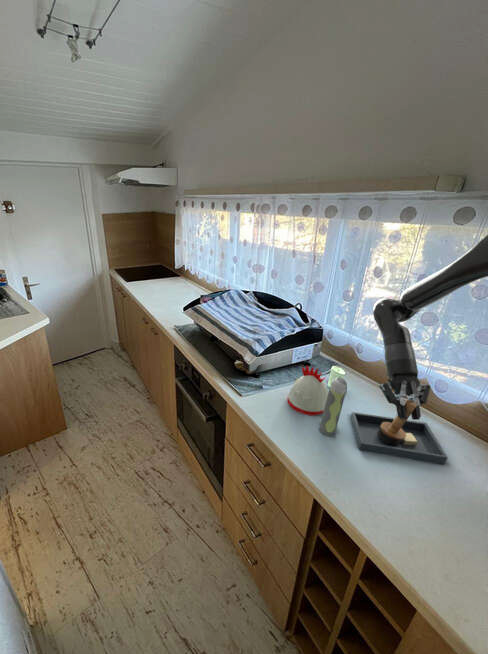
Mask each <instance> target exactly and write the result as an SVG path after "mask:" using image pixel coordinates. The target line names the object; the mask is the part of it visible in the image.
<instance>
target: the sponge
mask: <svg viewBox="0 0 488 654" xmlns="http://www.w3.org/2000/svg"><path fill="white" fill-rule="evenodd" d="M243 366H244V365H243V362H241V361H238V360H237V359H236V361H235V362H234V367H236V369H237V370H239V371H241V372H245V374H248V375H250V374H251V375H252V373H253V372H249V371H248V370H246V369H245V368H244V367H243Z"/></svg>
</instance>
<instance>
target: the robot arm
mask: <svg viewBox="0 0 488 654" xmlns="http://www.w3.org/2000/svg"><path fill="white" fill-rule="evenodd" d="M487 277H488V234H487V235H486V236H484V238H482V239H481V240H479V242H478V243H476V244H475V245H474V246H473V247H471V248H470V249H469V250H468V251H466V252H465V253H464V254H463V255H461V256H460V257H458V258H457V259H456V260H454V261H453V262H452V263H450V264H448V265H447V266H444V267H443V268H442V269H440V270H437V271H436V272H434V273H432V274H430V275H427V277H425V278H423V279H421V280H420V281H418V282H416V283H415V284H413V285H411V286H410V287H408V288H406V289H404V290H403V292H402V293H401V295H400V299H394V298H387V297H385V298H380V299H378V300H377V301H376V302H375V304H374V306H373V310H372V313H373V314H372V315H373V318H374V321H375V323H376V325H377V328H378V330H379V331H380V334H381V336H382V340H383V348H384V349H383V350H384V361H385V367H386V374H387V377H388V380H387V382H385V383H381V384H380V385H379V387H378V388H379V389H380V390H381V392H382V394H383V396H384V398H385V399H386V401H387V402H388V403H389V404H391V405H395V408H396V413H397V415H398V417H399V418H400V419H407V414H406V408H405V405H404V404H405V398H406V399H407V400H411V401H413V402H415V403H416V404H417V406H416V408H415V409H414V410H413V412H412V413H411V415H410V416H411V419H412V421H416V420H420V418H421V417H422V414H421V408H420V406H422V405H425V404H427V401H428V399H429V394H430V390H431V385H430V384H424V383H421V381H420V379H419V377H418V375H419V370H418V369H419V368H418V365H417V360H416V354H415V349H414V347H413V341H412V338H411V332H410V330H409V328H408V327H406V326H404V325H402V324H400V323H404V322H407V321H409V320H410V319H411V318H413V317H414V316H415V315H416V314H418V313H419V312H420V311H421V310H422V309H424V308H426V307H428V306H430V305H432V304H434V303H436V302H438V301H440V300H442V299H444V298H446V297H447V296H449V295H451V294H452V293H454V292H455V291H457V290H459V289H461V288H462V287H465V286H467V285H469V284H471V283H473V282H476V281H479V280H481V279H484V278H487ZM397 415H396V416H397ZM407 420H408V419H407Z"/></svg>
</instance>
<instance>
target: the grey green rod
mask: <svg viewBox="0 0 488 654" xmlns="http://www.w3.org/2000/svg"><path fill="white" fill-rule="evenodd" d="M347 389H348V384H347V381H346V380H345V378H344V379H343V378H340V377H339V378H335V379H333V380H332V383H331V387H329V390H328V396H327V400H326V404H325V407H324V411H323V413H322V415H321V419H320V422H319V425H318V432H319V433H321V434H322V435H323V436H326V437H333V436H335V434H336V432H337V428H338V425H339V420H340V416H341V412H342V408H343V405H344V403H345V397H346V394H347Z"/></svg>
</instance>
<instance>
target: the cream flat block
mask: <svg viewBox="0 0 488 654" xmlns="http://www.w3.org/2000/svg"><path fill="white" fill-rule="evenodd" d="M417 442H418V441H417V440H416V439H415V437H414V436H413V435H412V434H411V433H406V437H405V438H404V439H403V440H402V443H403V444H404V445H416V444H417Z"/></svg>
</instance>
